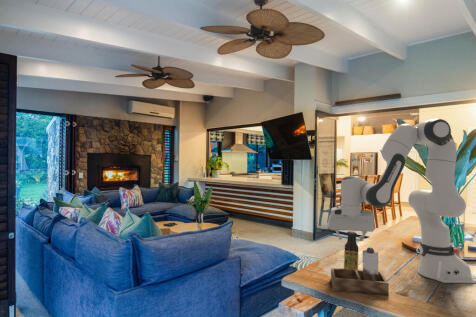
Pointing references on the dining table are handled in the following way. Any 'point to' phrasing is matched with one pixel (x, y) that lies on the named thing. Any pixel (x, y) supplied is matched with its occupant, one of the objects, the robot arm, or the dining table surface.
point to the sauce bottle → (351, 252)
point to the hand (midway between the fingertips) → (350, 239)
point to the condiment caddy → (358, 282)
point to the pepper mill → (370, 264)
